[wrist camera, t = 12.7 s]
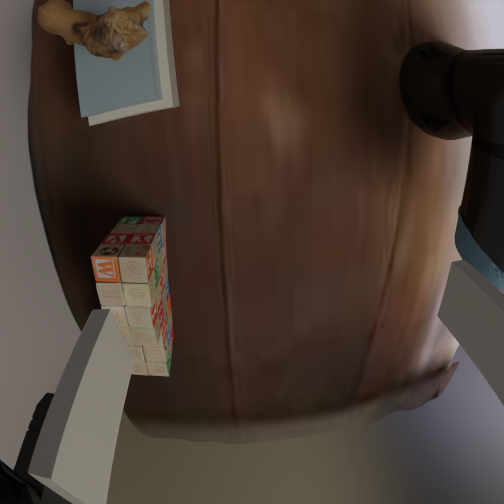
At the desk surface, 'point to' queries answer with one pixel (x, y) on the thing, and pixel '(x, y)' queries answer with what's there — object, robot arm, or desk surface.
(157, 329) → the stack of blocks
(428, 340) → the desk surface
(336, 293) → the desk surface
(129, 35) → the lion figurine
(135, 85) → the two-tone layered slab
